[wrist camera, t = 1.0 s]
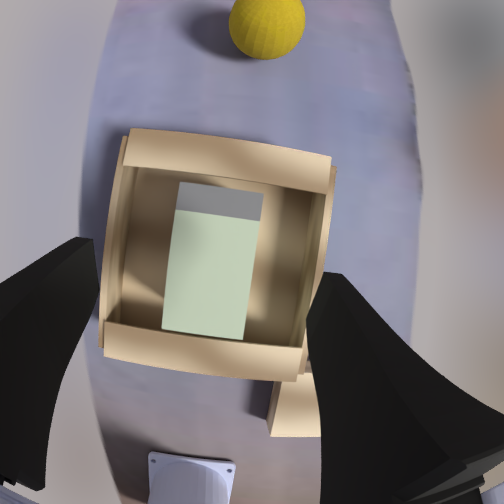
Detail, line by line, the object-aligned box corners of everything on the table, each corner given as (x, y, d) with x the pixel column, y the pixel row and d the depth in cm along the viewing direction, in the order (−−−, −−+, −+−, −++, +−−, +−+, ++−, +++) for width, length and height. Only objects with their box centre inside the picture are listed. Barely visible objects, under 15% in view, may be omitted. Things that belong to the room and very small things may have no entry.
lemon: (213, 52, 22) (212, -9, 14) (255, 17, 22) (266, -43, 14) (266, 87, 23) (284, 32, 15) (305, 50, 23) (332, -6, 15)
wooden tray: (290, 359, 24) (302, 382, 20) (115, 336, 23) (97, 354, 19) (319, 170, 24) (338, 158, 19) (139, 144, 22) (123, 127, 18)
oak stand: (331, 421, 25) (339, 435, 22) (266, 420, 24) (270, 436, 22) (347, 362, 25) (358, 373, 22) (278, 358, 24) (284, 371, 22)
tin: (237, 313, 23) (242, 339, 17) (176, 305, 23) (161, 328, 17) (252, 204, 23) (263, 193, 17) (190, 195, 22) (180, 181, 16)
